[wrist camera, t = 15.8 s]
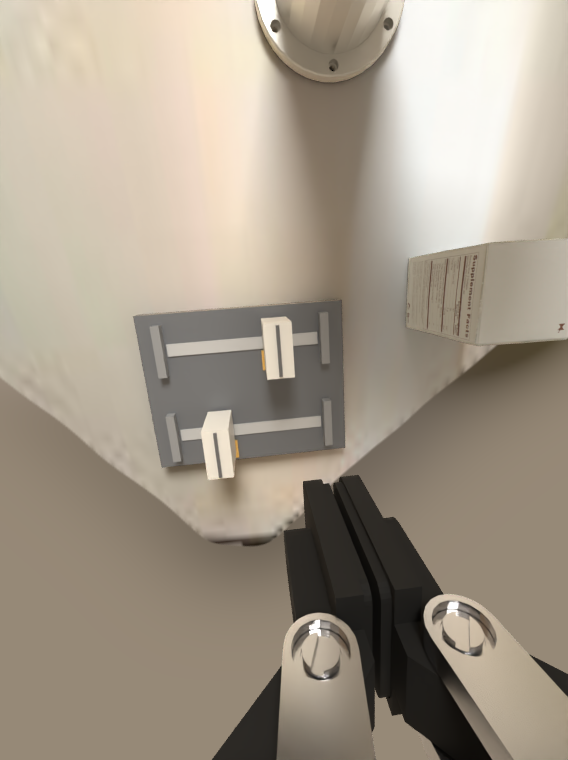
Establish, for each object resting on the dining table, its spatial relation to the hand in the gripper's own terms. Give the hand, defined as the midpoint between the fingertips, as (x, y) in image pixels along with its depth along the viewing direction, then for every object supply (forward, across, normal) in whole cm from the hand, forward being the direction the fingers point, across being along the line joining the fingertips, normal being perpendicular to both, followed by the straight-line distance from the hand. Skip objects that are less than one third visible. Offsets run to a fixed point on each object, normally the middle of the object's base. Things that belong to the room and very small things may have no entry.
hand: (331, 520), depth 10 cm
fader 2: (+25, 0, -2) cm, 25 cm away
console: (+27, +3, +3) cm, 27 cm away
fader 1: (+25, +6, +8) cm, 27 cm away
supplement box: (+27, -18, -5) cm, 33 cm away
